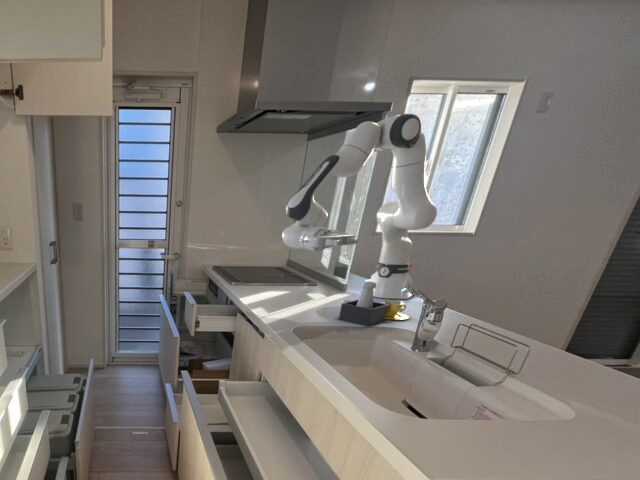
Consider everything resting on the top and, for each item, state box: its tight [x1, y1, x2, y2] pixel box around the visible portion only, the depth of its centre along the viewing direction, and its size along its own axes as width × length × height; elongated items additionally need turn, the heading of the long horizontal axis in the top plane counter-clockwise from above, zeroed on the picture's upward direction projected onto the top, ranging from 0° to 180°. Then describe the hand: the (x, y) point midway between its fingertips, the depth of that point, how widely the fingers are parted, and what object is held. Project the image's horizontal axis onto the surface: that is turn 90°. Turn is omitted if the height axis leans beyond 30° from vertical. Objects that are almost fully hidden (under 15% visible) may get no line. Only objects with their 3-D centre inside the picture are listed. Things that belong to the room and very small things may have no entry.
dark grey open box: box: [338, 299, 389, 327], centre depth 148 cm, size 11×11×6 cm
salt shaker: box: [356, 280, 376, 309], centre depth 146 cm, size 6×6×13 cm
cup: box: [382, 299, 410, 321], centre depth 151 cm, size 12×12×5 cm
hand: (347, 242), depth 148 cm, fingers open, 8 cm apart
